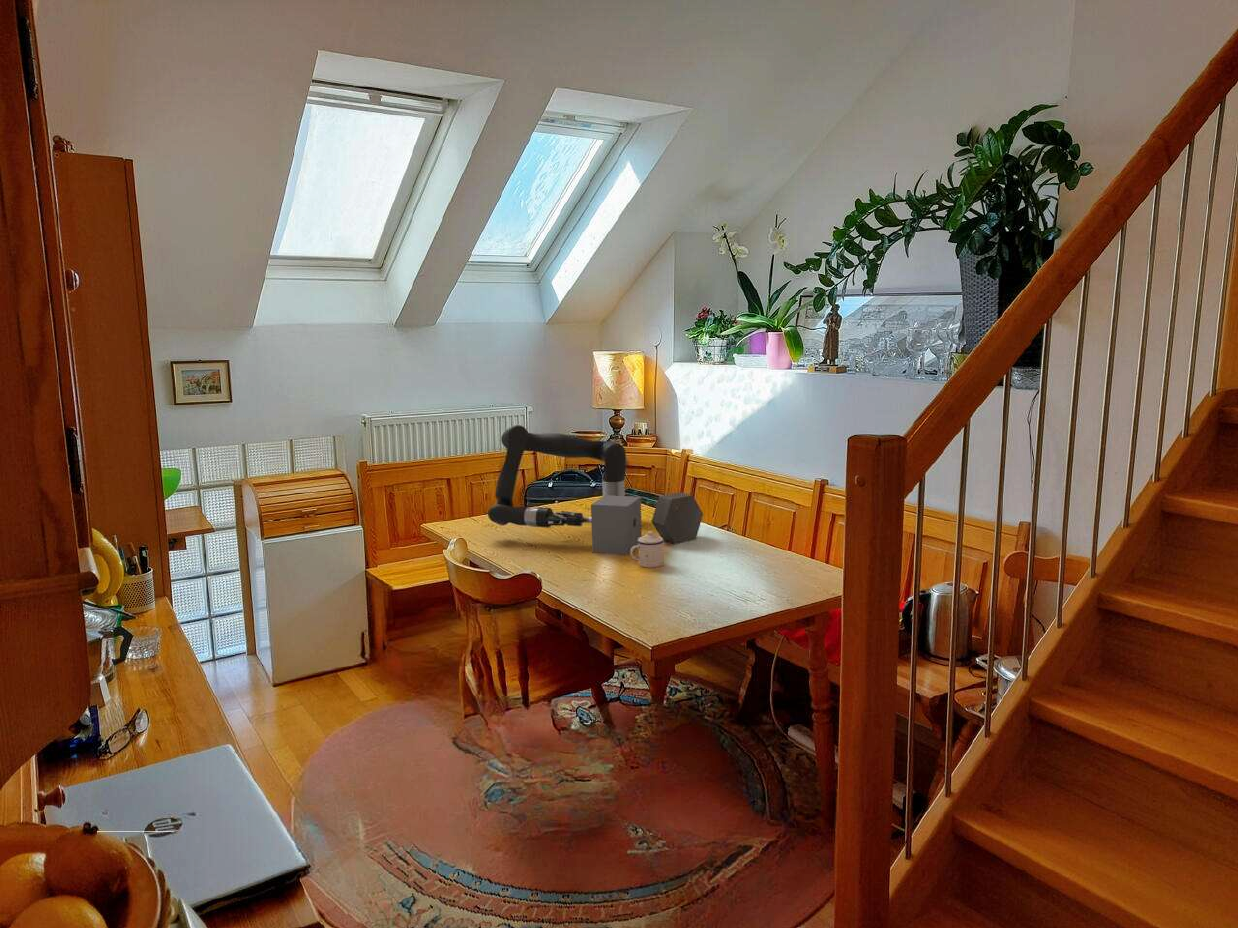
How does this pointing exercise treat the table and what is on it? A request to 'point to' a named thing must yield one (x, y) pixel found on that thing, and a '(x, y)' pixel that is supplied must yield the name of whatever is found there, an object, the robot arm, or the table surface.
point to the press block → (615, 524)
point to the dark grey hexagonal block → (677, 517)
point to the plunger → (579, 517)
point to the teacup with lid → (649, 550)
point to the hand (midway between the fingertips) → (579, 519)
